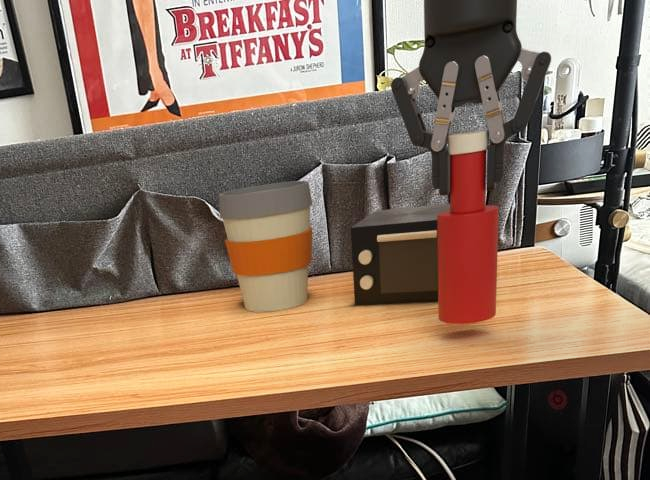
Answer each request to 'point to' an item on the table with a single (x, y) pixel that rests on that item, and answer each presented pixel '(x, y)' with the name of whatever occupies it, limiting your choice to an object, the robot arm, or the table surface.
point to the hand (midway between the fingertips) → (468, 190)
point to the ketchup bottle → (467, 236)
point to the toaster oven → (396, 256)
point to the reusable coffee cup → (269, 243)
